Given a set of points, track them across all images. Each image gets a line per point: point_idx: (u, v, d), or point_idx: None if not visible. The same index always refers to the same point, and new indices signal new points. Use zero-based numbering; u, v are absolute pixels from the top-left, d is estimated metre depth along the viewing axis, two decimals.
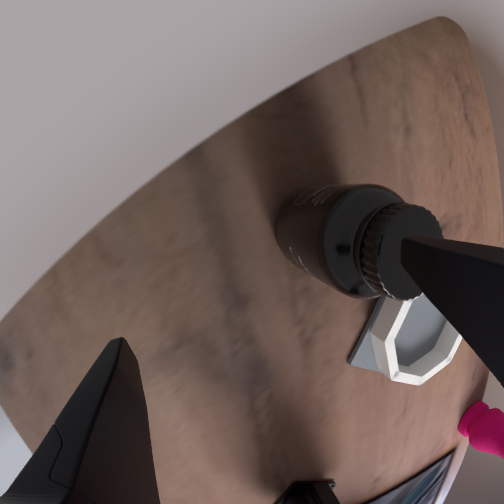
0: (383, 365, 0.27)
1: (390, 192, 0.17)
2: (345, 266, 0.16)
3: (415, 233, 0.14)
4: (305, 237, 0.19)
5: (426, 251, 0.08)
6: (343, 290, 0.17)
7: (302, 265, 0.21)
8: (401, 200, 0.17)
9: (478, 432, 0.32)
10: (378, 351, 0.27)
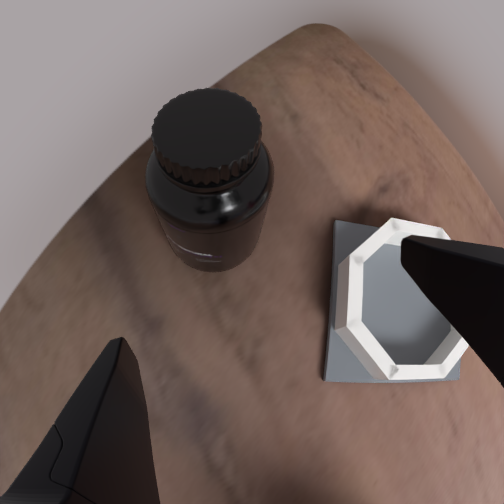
0: (371, 365, 0.19)
1: None
2: (164, 187, 0.15)
3: (200, 106, 0.13)
4: None
5: (426, 251, 0.08)
6: (180, 218, 0.15)
7: (176, 245, 0.19)
8: None
9: None
10: (355, 349, 0.20)
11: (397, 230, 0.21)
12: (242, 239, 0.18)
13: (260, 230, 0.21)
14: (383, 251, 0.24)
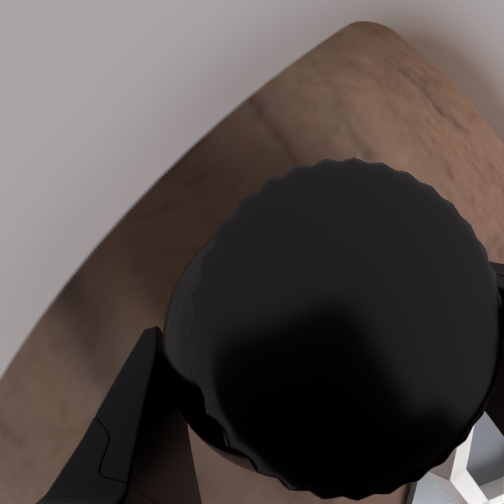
0: (461, 503, 0.10)
1: None
2: None
3: (355, 244, 0.04)
4: None
5: None
6: None
7: None
8: None
9: None
10: (447, 489, 0.11)
11: None
12: None
13: None
14: None
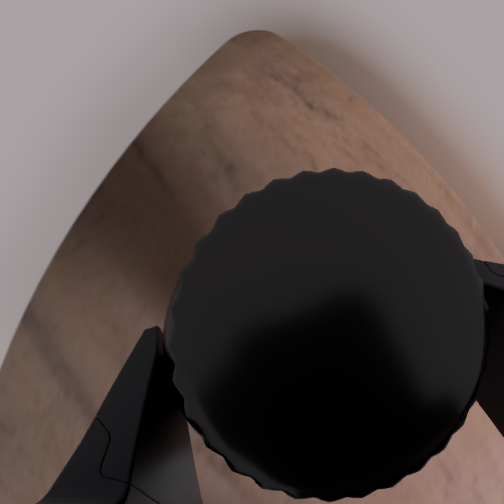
0: None
1: None
2: None
3: (330, 257, 0.04)
4: None
5: None
6: None
7: None
8: None
9: None
10: None
11: None
12: None
13: None
14: None
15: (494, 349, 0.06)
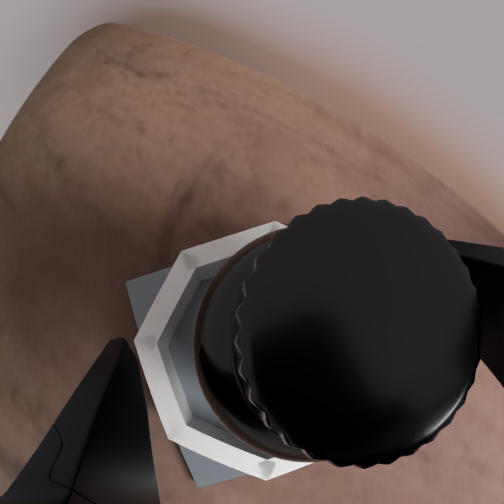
0: None
1: None
2: (249, 413, 0.07)
3: (363, 269, 0.05)
4: None
5: None
6: (280, 457, 0.07)
7: None
8: None
9: None
10: None
11: (195, 267, 0.15)
12: None
13: None
14: (204, 293, 0.17)
15: None
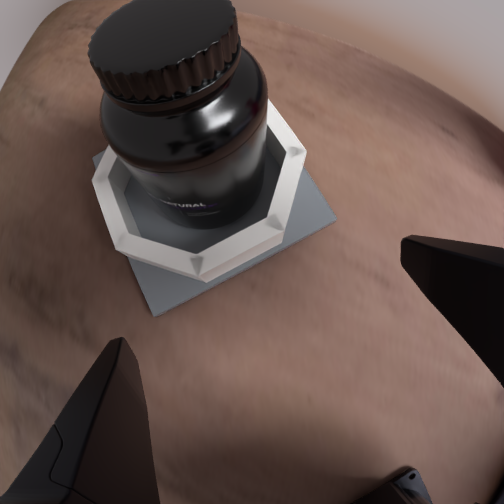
0: (178, 271, 0.17)
1: None
2: (120, 121, 0.10)
3: (149, 8, 0.08)
4: None
5: (426, 251, 0.08)
6: (146, 156, 0.10)
7: (158, 200, 0.14)
8: None
9: None
10: (155, 265, 0.17)
11: None
12: (240, 175, 0.13)
13: (263, 165, 0.16)
14: None
15: None
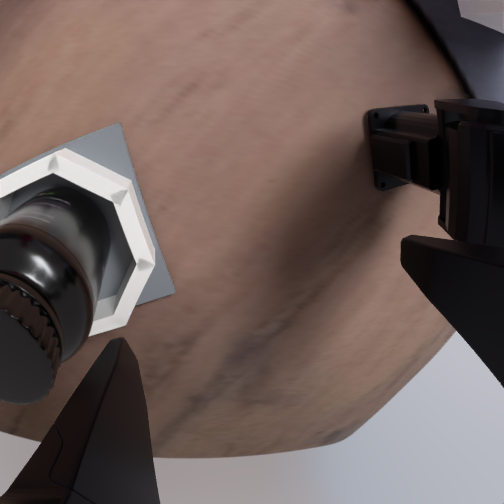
0: None
1: None
2: None
3: None
4: None
5: (426, 251, 0.08)
6: (86, 334, 0.12)
7: None
8: None
9: None
10: None
11: None
12: (86, 240, 0.13)
13: (67, 202, 0.14)
14: None
15: None
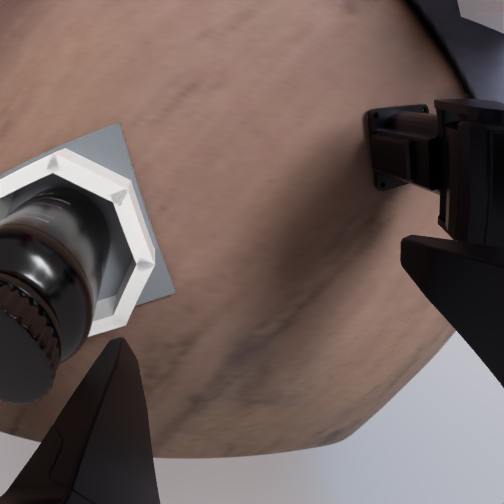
0: None
1: None
2: None
3: None
4: None
5: (426, 251, 0.08)
6: (85, 334, 0.12)
7: None
8: None
9: None
10: None
11: None
12: (85, 241, 0.13)
13: (66, 202, 0.14)
14: None
15: None
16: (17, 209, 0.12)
